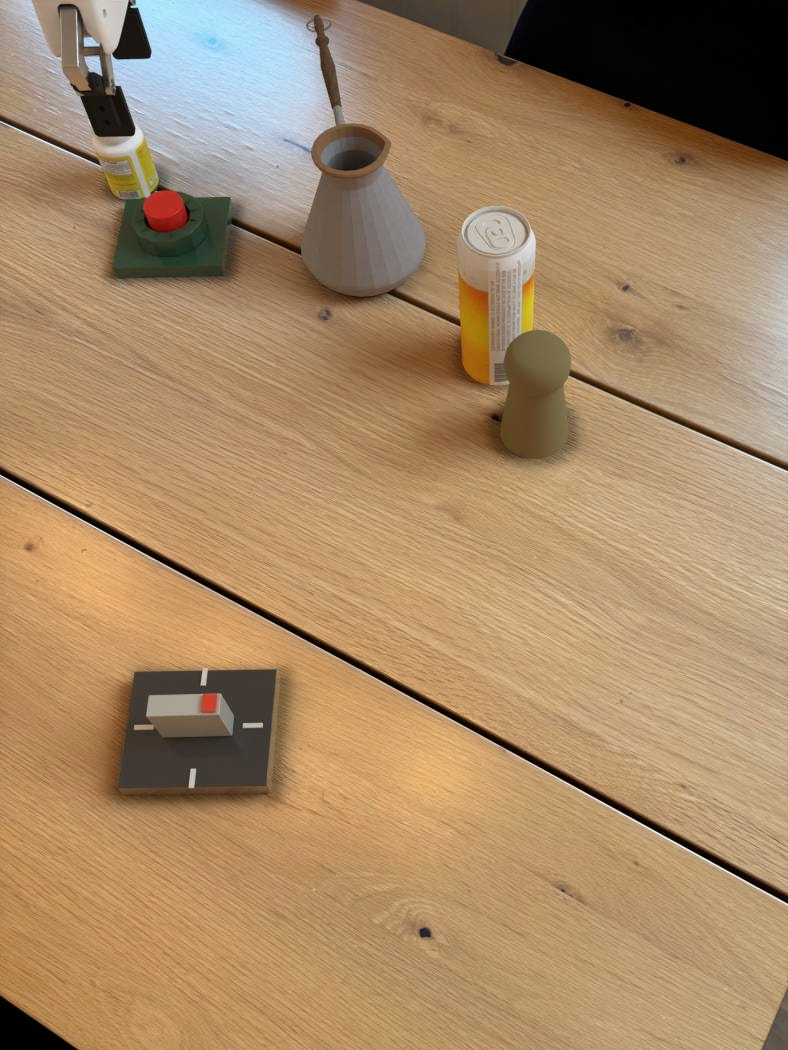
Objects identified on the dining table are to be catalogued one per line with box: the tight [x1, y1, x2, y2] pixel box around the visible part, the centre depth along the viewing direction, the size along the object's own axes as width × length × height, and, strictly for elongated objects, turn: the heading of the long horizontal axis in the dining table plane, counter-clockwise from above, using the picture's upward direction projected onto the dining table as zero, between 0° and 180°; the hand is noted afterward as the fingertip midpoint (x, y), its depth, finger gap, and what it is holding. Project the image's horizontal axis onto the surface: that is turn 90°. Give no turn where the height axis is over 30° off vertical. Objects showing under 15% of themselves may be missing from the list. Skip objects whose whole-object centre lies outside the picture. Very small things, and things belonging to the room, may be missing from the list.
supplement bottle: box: [87, 108, 160, 202], centre depth 100 cm, size 5×5×8 cm
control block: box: [111, 190, 234, 279], centre depth 98 cm, size 10×9×4 cm
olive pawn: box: [499, 329, 572, 460], centre depth 84 cm, size 6×6×11 cm
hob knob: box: [146, 694, 234, 738], centre depth 73 cm, size 5×2×4 cm, turn 91°
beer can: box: [456, 205, 537, 386], centre depth 86 cm, size 6×6×15 cm
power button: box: [143, 190, 188, 232], centre depth 96 cm, size 4×4×2 cm
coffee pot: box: [300, 14, 427, 298], centre depth 94 cm, size 21×12×15 cm, turn 13°
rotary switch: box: [116, 667, 281, 796], centre depth 76 cm, size 10×9×3 cm
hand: (125, 94), depth 85 cm, fingers open, 9 cm apart
